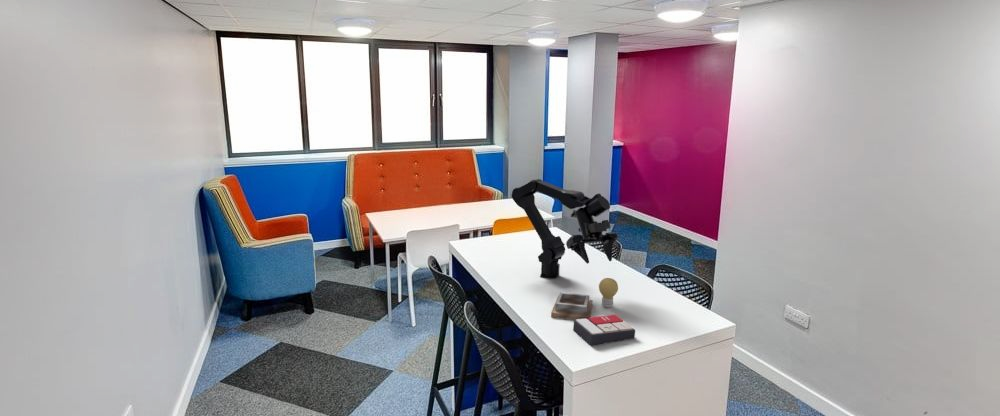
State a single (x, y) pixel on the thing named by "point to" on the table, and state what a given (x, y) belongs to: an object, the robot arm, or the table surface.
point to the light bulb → (608, 291)
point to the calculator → (603, 330)
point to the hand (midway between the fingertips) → (599, 261)
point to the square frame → (572, 306)
